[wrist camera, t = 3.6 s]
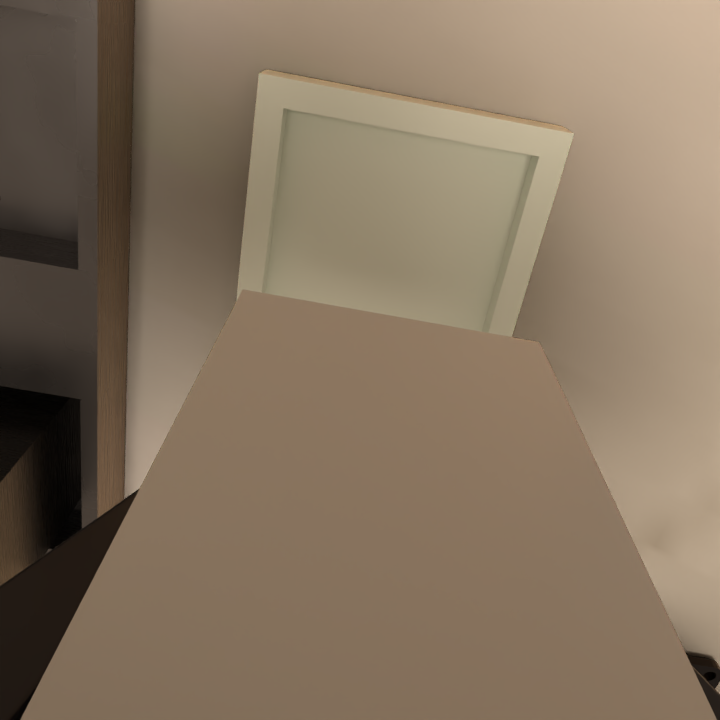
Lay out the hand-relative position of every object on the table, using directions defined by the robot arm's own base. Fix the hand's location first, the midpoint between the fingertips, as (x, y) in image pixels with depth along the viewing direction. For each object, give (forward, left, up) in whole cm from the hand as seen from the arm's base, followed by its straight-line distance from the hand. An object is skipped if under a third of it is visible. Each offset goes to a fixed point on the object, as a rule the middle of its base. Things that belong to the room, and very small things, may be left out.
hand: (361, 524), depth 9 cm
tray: (0, 0, -12) cm, 12 cm away
